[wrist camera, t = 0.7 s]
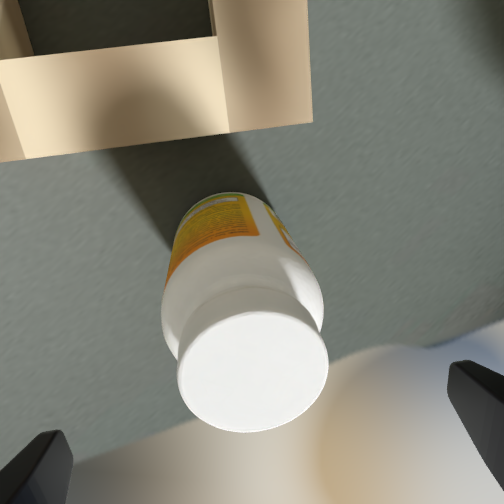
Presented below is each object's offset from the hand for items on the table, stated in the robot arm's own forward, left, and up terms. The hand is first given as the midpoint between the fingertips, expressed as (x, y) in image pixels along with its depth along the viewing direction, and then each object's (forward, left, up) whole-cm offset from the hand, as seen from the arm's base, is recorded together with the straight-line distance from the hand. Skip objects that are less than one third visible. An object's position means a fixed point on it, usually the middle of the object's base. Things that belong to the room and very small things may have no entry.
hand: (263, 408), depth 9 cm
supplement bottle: (0, 0, -11) cm, 11 cm away
